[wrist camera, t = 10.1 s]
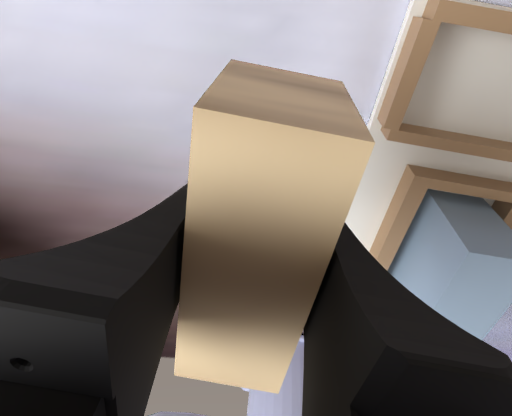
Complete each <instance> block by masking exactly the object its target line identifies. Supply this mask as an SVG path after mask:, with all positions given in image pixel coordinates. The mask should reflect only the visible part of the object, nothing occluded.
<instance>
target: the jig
mask: <svg viewBox="0 0 512 416" xmlns="http://www.w3.org/2000/svg"><path fill="white" fill-rule="evenodd" d="M367 128H368V130H369V132H370V134H371V136H372V137H373V139H374V141H375V145H374V148H373V150H372V153H371V155H370V158H369V161H368V163H367V166H366V168H365V171H364V173H363V176H362V179H361V181H360V184H359V186H358V189H357V192H356V194H355V197H354V199H353V202H352V205H351V207H350V210H349V212H348V215H347V217H346V220H345V223H346V224H347V226H348V227H349V228H350V230H351V231H352V232H353V233H354V235H355V236H356V237H357V238H358V240H359V241H360V242H361V243H362V244H363V246H364V247H365V248H366V249H367V250H368V251H369V252H370V254H371V255H372V256H373V257H374V258H375V259H376V260H377V261H378V262H379V263H380V264H381V265H382V266H383V267H384V268H385V269H386V270H387V271H388V269H389V267H390V265H391V263H392V261H393V259H394V257H395V255H396V253H397V250H398V248H399V246H400V244H401V242H402V240H403V238H404V236H405V234H406V232H407V230H408V228H409V226H410V224H411V222H412V220H413V218H414V216H415V214H416V212H417V210H418V208H419V206H420V204H421V202H422V200H423V198H424V196H425V194H426V192H427V189H432V190H438V191H444V192H450V193H456V194H462V195H468V196H474V197H480V198H483V199H484V200H485V201H486V202H487V203H488V204H489V205H490V206H491V207H492V209H493V210H494V211H495V212H496V213H497V214H498V215H499V216H500V217H501V218H502V220H503V221H504V222H505V223H506V224H507V225H508V226H509V227H510V228H511V229H512V8H511V7H505V6H500V5H494V4H489V3H483V2H478V1H472V0H410V3H409V6H408V9H407V12H406V15H405V17H404V20H403V23H402V26H401V29H400V32H399V35H398V38H397V41H396V44H395V47H394V50H393V53H392V56H391V59H390V61H389V64H388V67H387V70H386V73H385V76H384V79H383V82H382V85H381V88H380V91H379V94H378V97H377V100H376V102H375V105H374V108H373V111H372V114H371V117H370V120H369V123H368V126H367Z"/></svg>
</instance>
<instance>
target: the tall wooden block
mask: <svg viewBox="0 0 512 416" xmlns="http://www.w3.org/2000/svg"><path fill="white" fill-rule="evenodd" d="M374 145H375V141H374V139H373V137H372V136H371V134H370V132H369V130H368V128H367V126H366V125H365V123H364V121H363V119H362V117H361V115H360V113H359V112H358V110H357V108H356V106H355V104H354V102H353V101H352V99H351V97H350V95H349V93H348V91H347V90H346V88H345V86H344V84H343V82H342V81H337V80H332V79H327V78H322V77H317V76H312V75H307V74H302V73H297V72H292V71H287V70H282V69H277V68H272V67H267V66H262V65H257V64H252V63H247V62H242V61H237V60H232V59H231V60H230V62H229V63H228V64H227V65H226V67H225V68H224V69H223V70H222V72H221V73H220V74H219V75H218V77H217V78H216V79H215V81H214V82H213V83H212V84H211V86H210V87H209V88H208V89H207V91H206V92H205V93H204V94H203V96H202V97H201V98H200V99H199V101H198V102H197V103H196V104H195V106H194V107H193V120H192V133H191V147H190V161H189V175H188V189H187V202H186V216H185V230H184V244H183V258H182V271H181V285H180V299H179V313H178V327H177V340H176V354H175V368H174V375H175V376H181V377H186V378H192V379H198V380H203V381H209V382H214V383H220V384H226V385H231V386H237V387H242V388H248V389H254V390H259V391H265V392H271V393H276V394H278V393H279V391H280V388H281V386H282V383H283V380H284V378H285V375H286V373H287V370H288V368H289V365H290V362H291V360H292V357H293V355H294V352H295V349H296V347H297V344H298V342H299V339H300V336H301V334H302V331H303V329H304V326H305V324H306V321H307V318H308V316H309V313H310V311H311V308H312V305H313V303H314V300H315V298H316V295H317V293H318V290H319V287H320V285H321V282H322V280H323V277H324V274H325V272H326V269H327V267H328V264H329V261H330V259H331V256H332V254H333V251H334V249H335V246H336V243H337V241H338V238H339V236H340V233H341V230H342V228H343V225H344V223H345V220H346V217H347V215H348V212H349V210H350V207H351V205H352V202H353V199H354V197H355V194H356V192H357V189H358V186H359V184H360V181H361V179H362V176H363V173H364V171H365V168H366V166H367V163H368V161H369V158H370V155H371V153H372V150H373V148H374Z"/></svg>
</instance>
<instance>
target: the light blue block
mask: <svg viewBox="0 0 512 416" xmlns="http://www.w3.org/2000/svg"><path fill="white" fill-rule="evenodd" d="M388 272H389V273H390V274H391V275H392V276H393V277H394V278H395V279H397V280H398V281H399V282H400V283H401V284H402V285H403V286H404V287H406V288H407V289H408V290H409V291H410V292H412V293H413V294H414V295H415V296H417V297H418V298H419V299H421V300H422V301H423V302H424V303H426V304H427V305H428V306H430V307H431V308H432V309H434V310H435V311H437V312H438V313H439V314H441V315H442V316H444V317H445V318H447V319H448V320H450V321H451V322H453V323H454V324H456V325H457V326H459V327H460V328H462V329H463V330H465V331H467V332H468V333H470V334H472V335H473V336H475V337H477V338H478V339H480V340H483V339H484V338H485V336H486V335H487V334H488V333H489V331H490V330H491V329H492V328H493V326H494V325H495V324H496V323H497V321H498V320H499V319H500V318H501V316H502V315H503V314H504V313H505V311H506V310H507V309H508V308H509V306H510V305H511V304H512V229H511V228H510V227H509V226H508V225H507V224H506V223H505V222H504V221H503V220H502V218H501V217H500V216H499V215H498V214H497V213H496V212H495V211H494V210H493V209H492V207H491V206H490V205H489V204H488V203H487V202H486V201H485V200H484V199H483V198H480V197H474V196H468V195H462V194H456V193H450V192H444V191H438V190H432V189H427V192H426V194H425V196H424V198H423V200H422V202H421V204H420V206H419V208H418V210H417V212H416V214H415V216H414V218H413V220H412V222H411V224H410V226H409V228H408V230H407V232H406V234H405V236H404V238H403V240H402V242H401V244H400V246H399V248H398V250H397V253H396V255H395V257H394V259H393V261H392V263H391V265H390V267H389V269H388Z"/></svg>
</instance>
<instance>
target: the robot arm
mask: <svg viewBox="0 0 512 416" xmlns="http://www.w3.org/2000/svg"><path fill="white" fill-rule="evenodd" d="M187 189H188V183H187V184H186V185H185V186H183V187H182V188H181V189H179V190H178V191H177V192H175V193H174V194H173V195H171V196H170V197H168V198H167V199H165V200H164V201H162V202H161V203H159V204H158V205H156V206H155V207H153V208H152V209H150V210H148V211H147V212H145V213H143V214H142V215H140V216H138V217H136V218H134V219H132V220H130V221H128V222H126V223H124V224H122V225H120V226H117V227H115V228H113V229H110V230H108V231H105V232H102V233H100V234H97V235H94V236H92V237H89V238H86V239H84V240H81V241H77V242H74V243H71V244H67V245H64V246H60V247H57V248H53V249H49V250H45V251H41V252H37V253H32V254H27V255H22V256H17V257H12V258H7V259H2V260H0V416H144V413H145V409H146V406H147V402H148V399H149V395H150V392H151V388H152V385H153V381H154V378H155V374H156V371H157V368H158V364H159V361H160V358H161V355H162V351H163V348H164V345H165V341H166V338H167V335H168V332H169V328H170V325H171V322H172V319H173V316H174V313H175V311H176V308H177V305H178V303H179V299H180V285H181V271H182V258H183V244H184V230H185V216H186V202H187ZM241 388H242V387H241ZM242 389H243V390H244V391H249V399H248V409H247V416H512V362H511V360H510V359H509V357H508V356H507V355H506V354H504V353H502V352H501V351H499V350H497V349H496V348H494V347H492V346H490V345H489V344H487V343H485V342H484V341H482V340H480V339H478V338H477V337H475V336H473V335H472V334H470V333H468V332H467V331H465V330H463V329H462V328H460V327H459V326H457V325H456V324H454V323H453V322H451V321H450V320H448V319H447V318H445V317H444V316H442V315H441V314H439V313H438V312H437V311H435V310H434V309H432V308H431V307H430V306H428V305H427V304H426V303H424V302H423V301H422V300H421V299H419V298H418V297H417V296H415V295H414V294H413V293H412V292H410V291H409V290H408V289H407V288H406V287H404V286H403V285H402V284H401V283H400V282H399V281H398V280H397V279H395V278H394V277H393V276H392V275H391V274H390V273H389V272H388V271H387V270H386V269H385V268H384V267H383V266H382V265H381V264H380V263H379V262H378V261H377V260H376V259H375V258H374V257H373V256H372V255H371V254H370V252H369V251H368V250H367V249H366V248H365V247H364V246H363V244H362V243H361V242H360V241H359V240H358V238H357V237H356V236H355V235H354V233H353V232H352V231H351V230H350V228H349V227H348V226H347V224H346V223H344V225H343V228H342V230H341V233H340V236H339V238H338V241H337V243H336V246H335V249H334V251H333V254H332V256H331V259H330V261H329V264H328V267H327V269H326V272H325V274H324V277H323V280H322V282H321V285H320V287H319V290H318V293H317V295H316V298H315V300H314V303H313V305H312V308H311V311H310V313H309V316H308V318H307V321H306V324H305V326H304V335H301V336H300V339H299V342H298V344H297V347H296V349H295V352H294V355H293V357H292V360H291V362H290V365H289V368H288V370H287V373H286V375H285V378H284V380H283V383H282V386H281V388H280V391H279V393H278V394H276V393H271V392H265V391H259V390H254V389H248V388H242ZM148 416H206V415H201V414H195V413H187V412H157V413H154V414H151V415H148Z"/></svg>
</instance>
